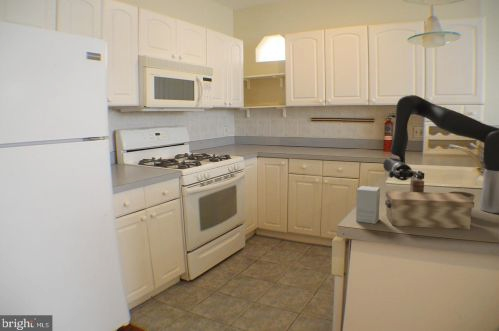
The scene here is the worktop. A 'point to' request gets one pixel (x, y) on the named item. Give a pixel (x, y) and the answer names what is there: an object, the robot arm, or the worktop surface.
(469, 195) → the flower pot
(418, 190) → the wooden block
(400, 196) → the wooden chest
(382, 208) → the worktop surface
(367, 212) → the supplement box
